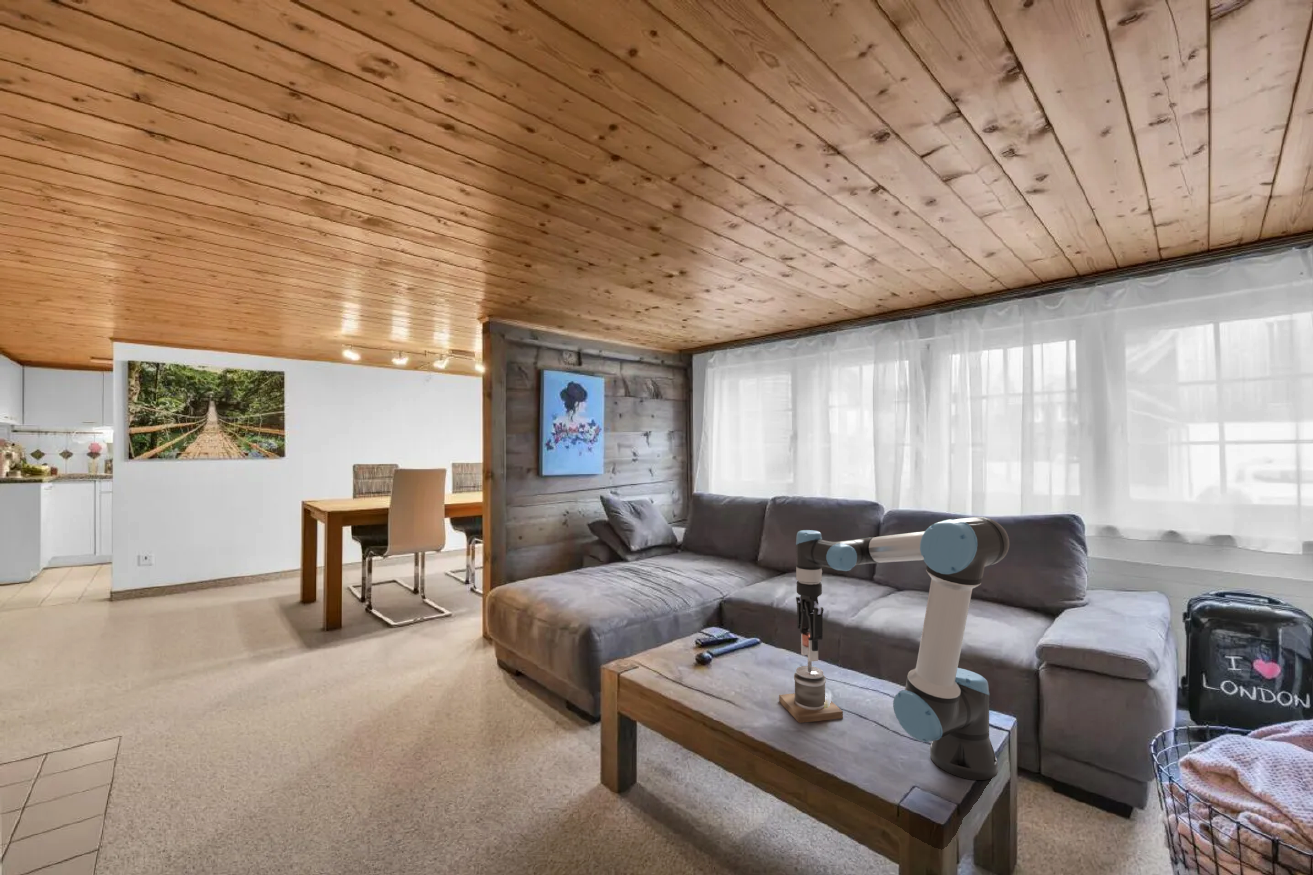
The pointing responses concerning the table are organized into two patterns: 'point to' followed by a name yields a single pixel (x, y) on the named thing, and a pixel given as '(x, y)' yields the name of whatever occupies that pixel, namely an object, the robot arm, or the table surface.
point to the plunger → (808, 670)
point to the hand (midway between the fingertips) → (809, 657)
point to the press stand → (809, 701)
